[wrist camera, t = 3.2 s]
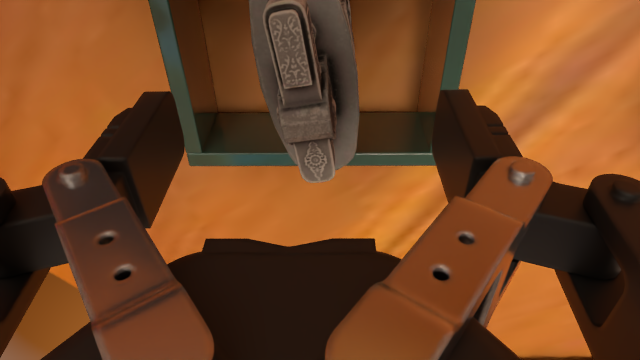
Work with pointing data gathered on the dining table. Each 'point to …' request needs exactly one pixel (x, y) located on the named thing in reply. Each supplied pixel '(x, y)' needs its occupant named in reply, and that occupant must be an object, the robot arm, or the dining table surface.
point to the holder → (258, 128)
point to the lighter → (309, 80)
